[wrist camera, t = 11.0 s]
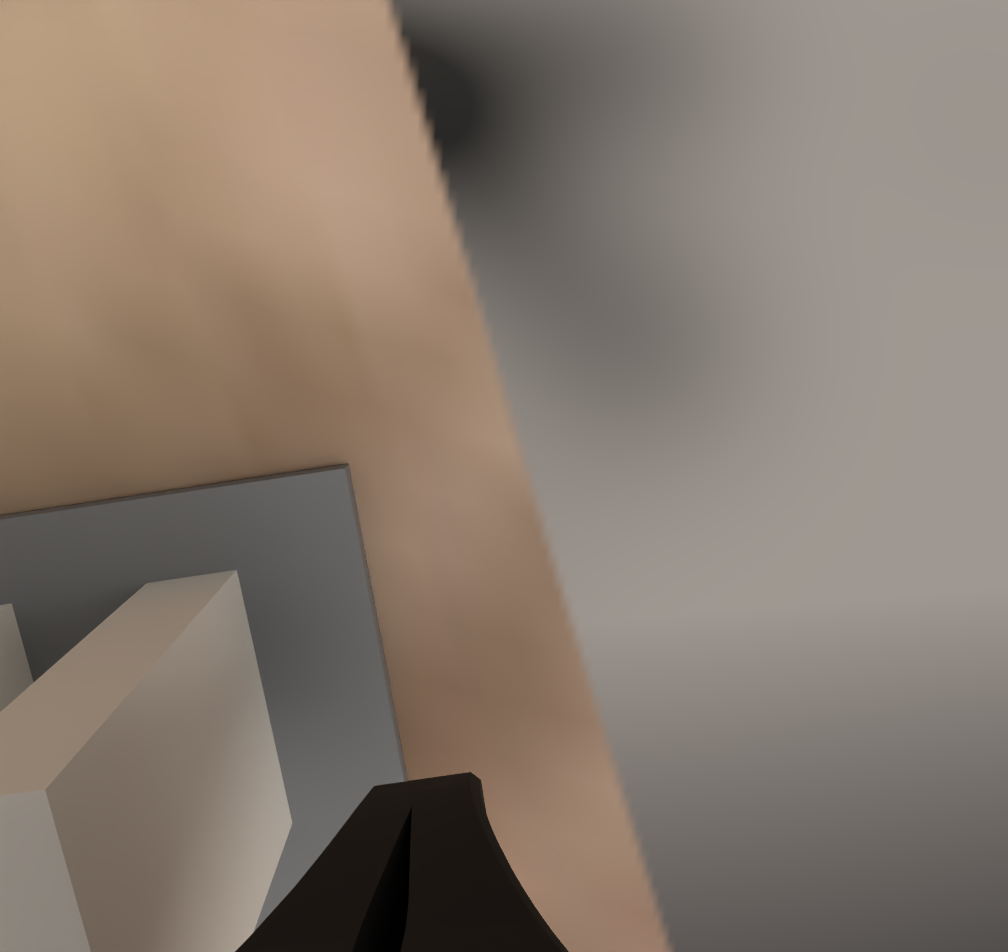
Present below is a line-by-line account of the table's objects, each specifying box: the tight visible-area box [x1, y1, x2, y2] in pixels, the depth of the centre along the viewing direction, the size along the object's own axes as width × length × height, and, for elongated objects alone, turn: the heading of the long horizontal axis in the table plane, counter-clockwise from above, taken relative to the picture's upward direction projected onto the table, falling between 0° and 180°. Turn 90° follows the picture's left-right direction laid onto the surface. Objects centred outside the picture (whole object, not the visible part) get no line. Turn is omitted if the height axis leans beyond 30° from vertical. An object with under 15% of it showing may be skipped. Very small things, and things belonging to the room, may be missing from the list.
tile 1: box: [0, 570, 292, 952], centre depth 13 cm, size 2×5×7 cm, turn 8°
